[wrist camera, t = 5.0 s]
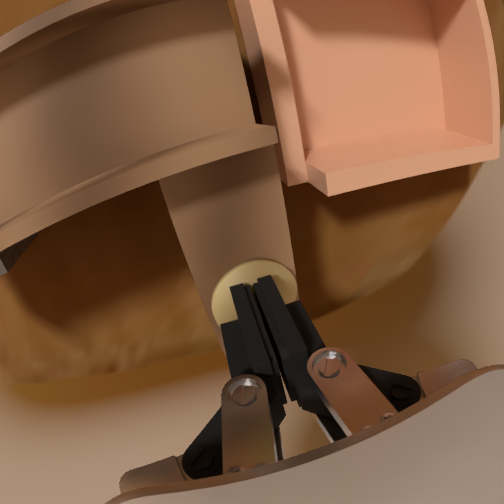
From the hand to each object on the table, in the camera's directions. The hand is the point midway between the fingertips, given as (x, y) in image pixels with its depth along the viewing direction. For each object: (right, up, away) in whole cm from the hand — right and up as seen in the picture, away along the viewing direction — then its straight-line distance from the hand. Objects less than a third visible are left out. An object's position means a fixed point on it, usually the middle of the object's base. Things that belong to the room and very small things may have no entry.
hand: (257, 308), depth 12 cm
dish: (+6, +14, +2) cm, 15 cm away
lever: (-10, +1, -3) cm, 10 cm away
